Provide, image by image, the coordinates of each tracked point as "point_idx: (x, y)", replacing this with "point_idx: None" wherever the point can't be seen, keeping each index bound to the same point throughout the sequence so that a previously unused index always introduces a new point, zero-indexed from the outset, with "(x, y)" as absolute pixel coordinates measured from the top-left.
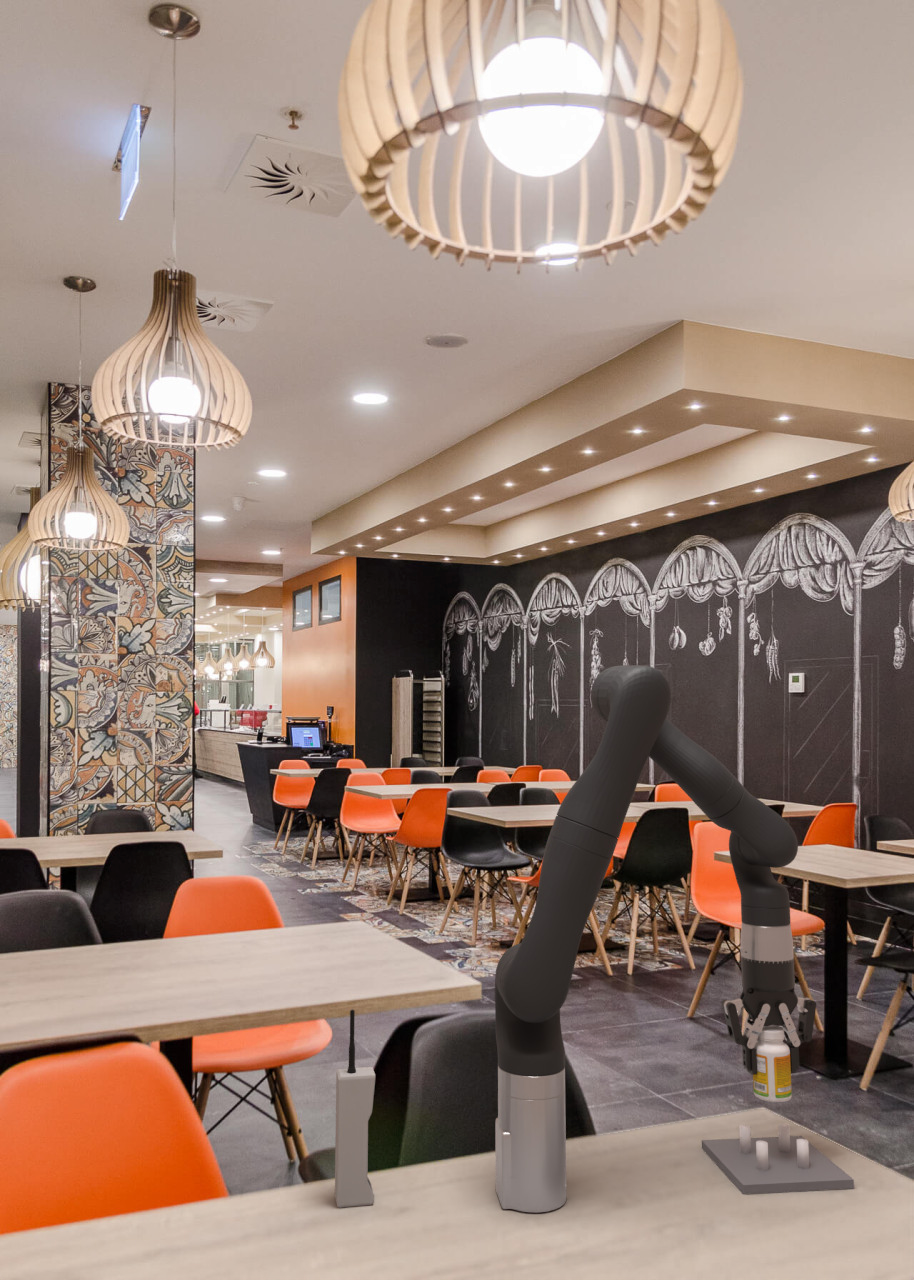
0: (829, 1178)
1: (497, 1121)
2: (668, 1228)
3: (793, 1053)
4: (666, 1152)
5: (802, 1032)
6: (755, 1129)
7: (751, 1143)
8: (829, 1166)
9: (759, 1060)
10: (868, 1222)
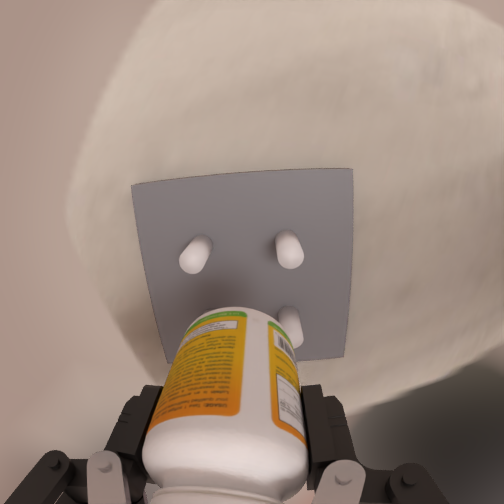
0: (171, 189)
1: None
2: (472, 87)
3: (131, 435)
4: (398, 334)
5: (70, 491)
6: None
7: None
8: (154, 242)
9: (298, 420)
10: (168, 60)
